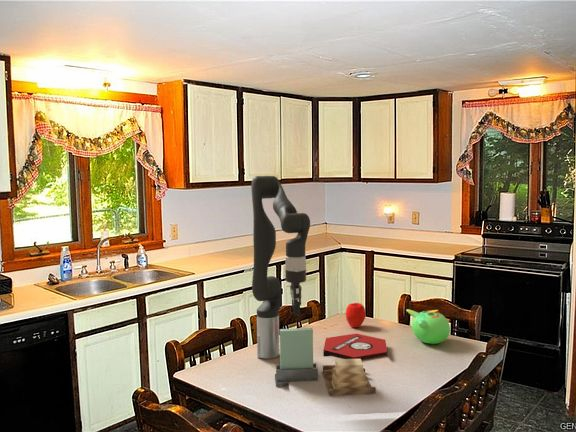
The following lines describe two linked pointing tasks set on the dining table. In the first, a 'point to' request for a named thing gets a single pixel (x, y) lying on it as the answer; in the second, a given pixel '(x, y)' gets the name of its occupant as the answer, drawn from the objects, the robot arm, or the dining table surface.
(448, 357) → the dining table surface
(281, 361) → the panel
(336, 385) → the block
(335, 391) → the rack
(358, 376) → the block
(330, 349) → the plaque
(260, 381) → the dining table surface
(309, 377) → the stand
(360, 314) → the apple
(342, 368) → the offcut top
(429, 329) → the toy bird
